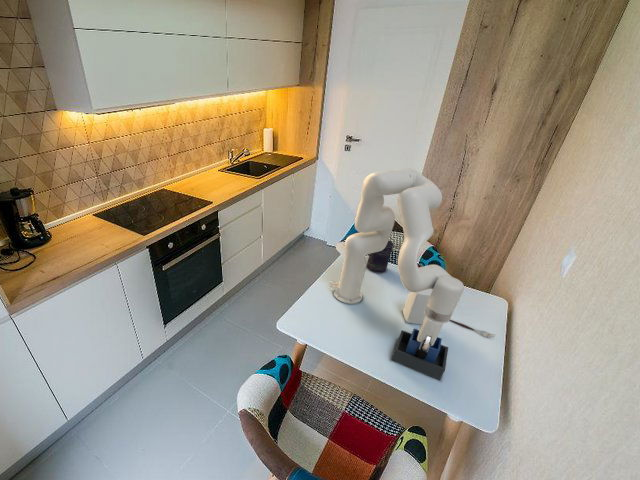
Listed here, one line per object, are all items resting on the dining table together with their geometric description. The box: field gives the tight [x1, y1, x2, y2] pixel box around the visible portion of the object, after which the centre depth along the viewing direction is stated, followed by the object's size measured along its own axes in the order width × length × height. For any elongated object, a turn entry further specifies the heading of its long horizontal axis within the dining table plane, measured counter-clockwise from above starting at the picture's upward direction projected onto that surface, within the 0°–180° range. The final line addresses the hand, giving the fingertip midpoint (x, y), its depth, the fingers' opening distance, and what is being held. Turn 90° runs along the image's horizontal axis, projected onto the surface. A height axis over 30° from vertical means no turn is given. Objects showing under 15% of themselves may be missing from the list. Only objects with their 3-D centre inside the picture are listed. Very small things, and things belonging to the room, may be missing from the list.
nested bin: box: [405, 328, 443, 364], centre depth 112 cm, size 9×7×6 cm
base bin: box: [390, 330, 449, 381], centre depth 114 cm, size 16×12×5 cm
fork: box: [449, 319, 496, 338], centre depth 128 cm, size 3×16×2 cm, turn 49°
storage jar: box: [366, 239, 394, 274], centre depth 163 cm, size 10×10×15 cm
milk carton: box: [402, 289, 433, 325], centre depth 129 cm, size 7×7×19 cm
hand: (421, 350), depth 113 cm, fingers closed on nested bin, 7 cm apart
